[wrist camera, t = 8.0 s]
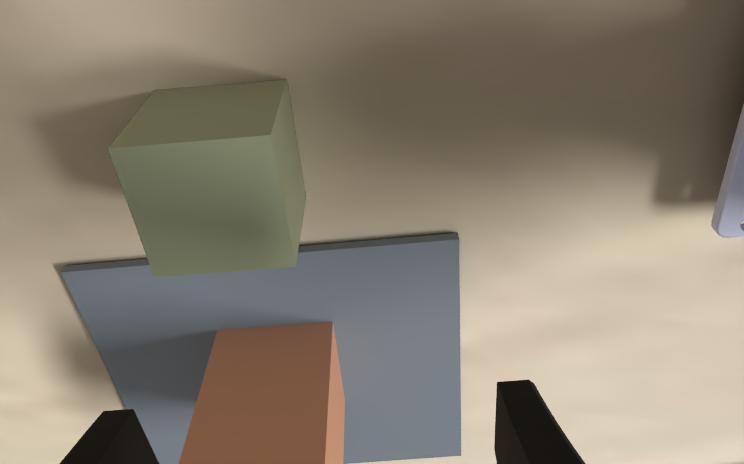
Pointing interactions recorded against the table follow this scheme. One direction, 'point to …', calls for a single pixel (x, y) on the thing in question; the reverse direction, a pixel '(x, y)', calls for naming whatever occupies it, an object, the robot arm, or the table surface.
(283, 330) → the terracotta block
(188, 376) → the slate mat
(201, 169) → the olive cube
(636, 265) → the table surface
